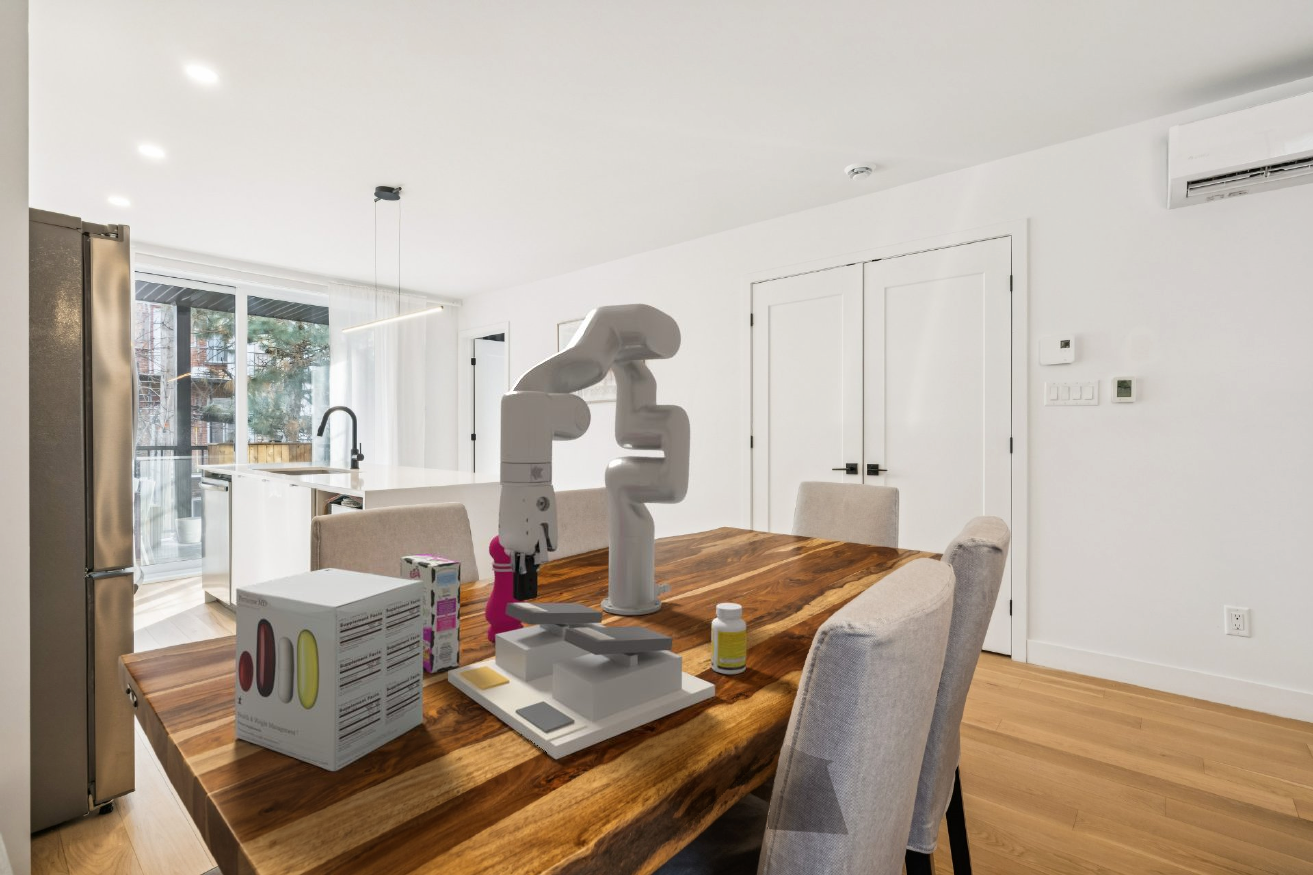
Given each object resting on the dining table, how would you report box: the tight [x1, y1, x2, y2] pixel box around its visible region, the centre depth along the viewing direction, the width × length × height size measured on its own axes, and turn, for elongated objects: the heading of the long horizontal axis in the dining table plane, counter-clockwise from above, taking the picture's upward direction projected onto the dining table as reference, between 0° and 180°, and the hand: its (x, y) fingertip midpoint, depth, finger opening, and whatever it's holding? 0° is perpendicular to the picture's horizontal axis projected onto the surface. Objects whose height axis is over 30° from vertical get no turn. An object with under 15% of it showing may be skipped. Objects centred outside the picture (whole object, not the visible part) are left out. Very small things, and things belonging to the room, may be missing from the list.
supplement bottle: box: [710, 602, 747, 675], centre depth 97 cm, size 5×5×10 cm
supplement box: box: [234, 567, 424, 772], centre depth 76 cm, size 17×13×18 cm
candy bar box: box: [400, 553, 462, 675], centre depth 99 cm, size 11×5×16 cm, turn 47°
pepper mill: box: [484, 534, 526, 643], centre depth 111 cm, size 7×7×20 cm
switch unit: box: [447, 623, 716, 760], centre depth 89 cm, size 26×29×8 cm
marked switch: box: [505, 602, 604, 626], centre depth 96 cm, size 13×7×2 cm, turn 132°
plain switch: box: [564, 625, 674, 655], centre depth 84 cm, size 13×7×2 cm, turn 132°
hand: (525, 598), depth 92 cm, fingers closed
